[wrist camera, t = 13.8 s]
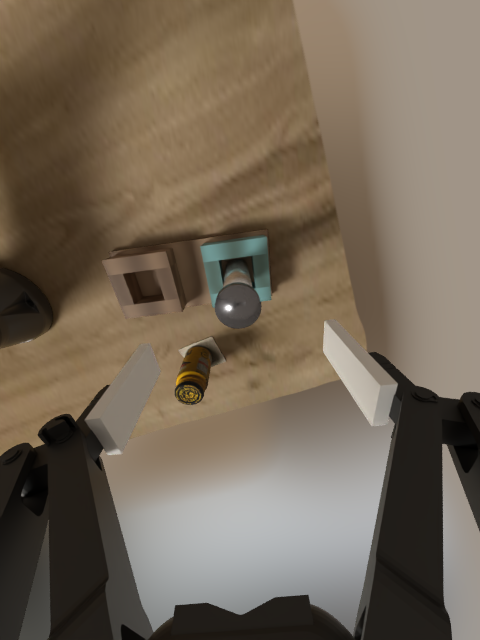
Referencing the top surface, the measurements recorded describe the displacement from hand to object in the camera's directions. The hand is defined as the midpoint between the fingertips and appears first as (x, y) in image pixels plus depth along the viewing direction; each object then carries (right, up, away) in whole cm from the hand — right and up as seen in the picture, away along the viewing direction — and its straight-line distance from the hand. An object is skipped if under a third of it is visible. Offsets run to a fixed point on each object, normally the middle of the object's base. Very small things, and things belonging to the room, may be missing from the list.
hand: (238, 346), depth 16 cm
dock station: (-8, +11, +24) cm, 28 cm away
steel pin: (0, +11, +23) cm, 26 cm away
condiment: (-8, -6, +33) cm, 34 cm away
